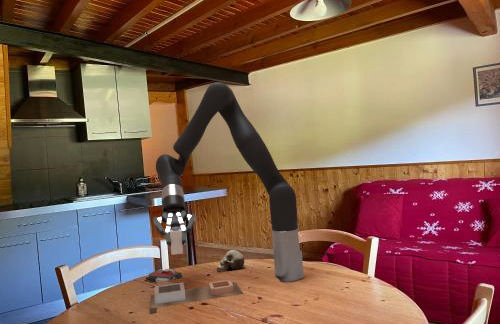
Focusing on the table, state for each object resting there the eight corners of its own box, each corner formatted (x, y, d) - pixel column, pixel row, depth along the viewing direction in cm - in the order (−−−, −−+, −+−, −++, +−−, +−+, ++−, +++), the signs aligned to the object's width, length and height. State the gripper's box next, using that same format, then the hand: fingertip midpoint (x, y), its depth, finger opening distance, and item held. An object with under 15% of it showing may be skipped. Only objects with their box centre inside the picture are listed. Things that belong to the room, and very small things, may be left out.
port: (183, 291, 123) (183, 281, 123) (185, 300, 114) (184, 290, 114) (155, 295, 121) (154, 285, 121) (155, 305, 112) (154, 294, 112)
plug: (182, 250, 121) (180, 225, 120) (183, 253, 117) (181, 227, 117) (171, 252, 120) (169, 226, 120) (171, 254, 116) (169, 228, 116)
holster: (230, 285, 125) (229, 279, 125) (234, 292, 118) (233, 285, 118) (209, 288, 124) (208, 282, 124) (211, 295, 117) (211, 289, 117)
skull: (210, 271, 145) (215, 247, 151) (220, 283, 152) (225, 260, 159) (239, 271, 141) (243, 246, 148) (248, 283, 148) (252, 259, 155)
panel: (236, 286, 128) (236, 282, 128) (243, 298, 117) (243, 293, 117) (151, 299, 122) (150, 294, 122) (150, 313, 110) (149, 308, 110)
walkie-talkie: (141, 284, 140) (183, 289, 131) (140, 272, 140) (182, 276, 131) (158, 276, 148) (199, 281, 138) (157, 265, 148) (198, 269, 138)
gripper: (150, 195, 124) (152, 239, 112) (194, 191, 127) (200, 234, 115) (152, 209, 129) (153, 253, 117) (194, 206, 132) (199, 248, 120)
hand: (176, 243), depth 116 cm, fingers closed on plug, 3 cm apart
